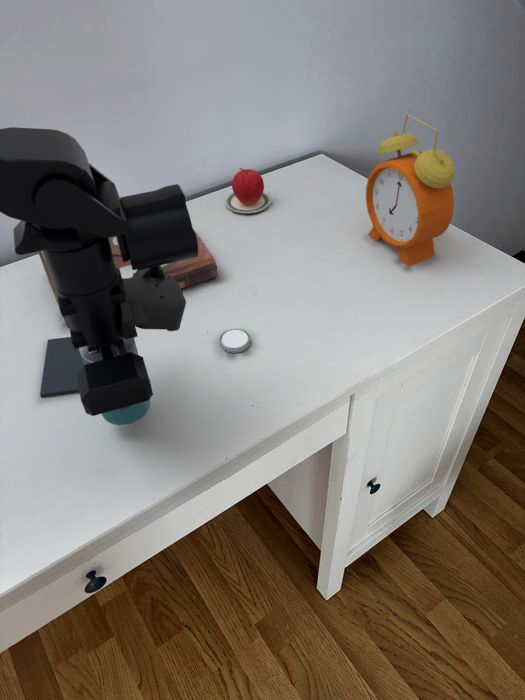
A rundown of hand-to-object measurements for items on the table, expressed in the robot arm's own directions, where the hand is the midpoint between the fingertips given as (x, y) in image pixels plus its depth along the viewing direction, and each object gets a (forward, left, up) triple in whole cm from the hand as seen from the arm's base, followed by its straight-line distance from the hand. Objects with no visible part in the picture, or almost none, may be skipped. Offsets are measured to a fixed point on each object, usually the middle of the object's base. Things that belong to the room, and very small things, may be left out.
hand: (120, 388), depth 63 cm
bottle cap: (+14, +11, -6) cm, 19 cm away
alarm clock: (+43, +28, -6) cm, 52 cm away
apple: (+21, +46, -6) cm, 51 cm away
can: (0, 0, -3) cm, 3 cm away
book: (0, +29, -6) cm, 30 cm away
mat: (-6, +11, -6) cm, 14 cm away
